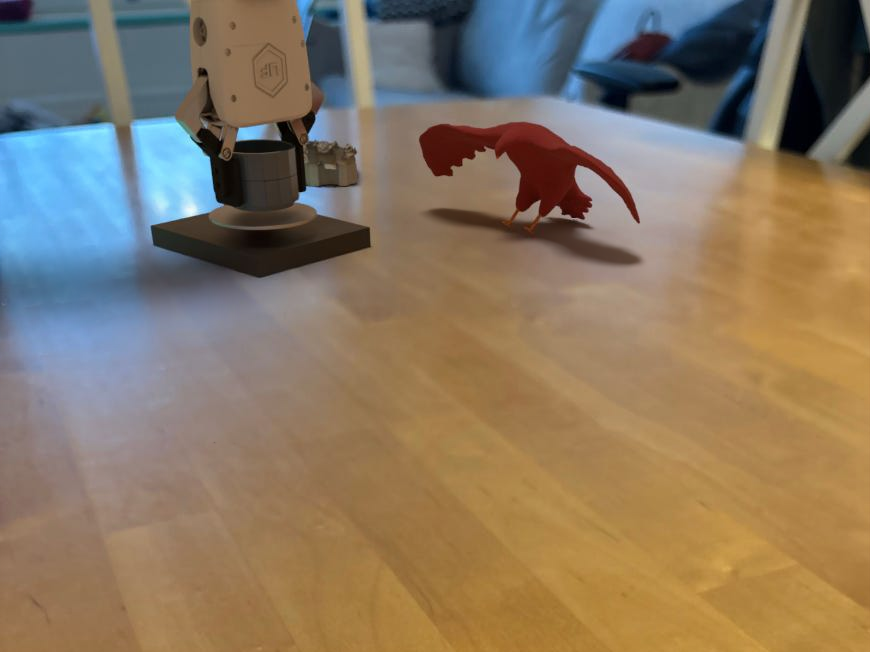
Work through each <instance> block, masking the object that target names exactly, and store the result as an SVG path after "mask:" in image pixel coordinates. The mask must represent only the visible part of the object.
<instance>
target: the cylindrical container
mask: <svg viewBox="0 0 870 652" xmlns="http://www.w3.org/2000/svg"><path fill="white" fill-rule="evenodd" d="M232 158H233V159H237V160H238V162H239V168H240V177H241V186H242V196H243V204H242V206H240V207H233V206H232V207H233V208H235V209H238V210H243V211H253V212H265V211H276V210H282V209H286V208H289V207H291V206H293V205H294V204H295V202H296V201H299V199H300V196H301V195H300V194H301V193H300V192H299V181H298V168H297V156H296V145H295V144H293V143H291V142H288V141H283V140H281V139H274V138H273V139H271V138H255V139H254V138H252V139H240V140H236V142H235V146H234V150H233V154H232Z"/></svg>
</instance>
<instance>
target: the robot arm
mask: <svg viewBox="0 0 870 652" xmlns="http://www.w3.org/2000/svg"><path fill="white" fill-rule="evenodd" d="M189 51H190V67H191V79H192V87H191V88H190V90H189V91H188V93H187V94H186V96H185V97H184V99H183V100H182V102H181V104H180V105H179V107H178V108H177V109H176V111H175V113H174V118H175V121H176V122H177V123H178V125H179V126H180V127H181V128H182V129H183V130H184V132H185V133H186V134H187V135H189V137H190V139H191V141H192V142H193V143H195V144H196V145H197V147H198V148H199V149H201V152H202V154H203V156H205V157H208V158H209V164H210V172H211V180H212V188H213V189H212V190H213V192H214V197H215V201H216V202H217V203H218V204H222V205H224V204H225V205H229V206H233V207H240V206H242V204H243V196H242V186H241V177H240V168H239V162H238V160H237V159H233V158H232V154H233V150H234V146H235V142H236V141H237V139H238V134H239V129H243V128H252V127H258V126H264V125H271V124H273V126H274V128H275V130H276V133H277V135H278V137H279V140H283V141H288V142H291V143H293V144H295V145H296V156H297V168H298V181H299V193H300V194H301V193H305V192H306V191H307V185H306V177H305V164H304V151H303V146H305V145H307V144H308V141H310V138H309V137H310V136H309V134H310V132H311V130H312V128H313V127H314V125H315V123H316V116H317V115H318V114H319V111H320V109H321V107H322V104H323V103H324V99H325V94H324V92H323V91H322V90H321V89H320V88H319V87H318V86H317V85H316V84H315V83H314V82H313V81H312V80H311V73H310V63H309V57H308V50H307V44H306V37H305V31H304V27H303V23H302V18H301V14H300V9H299V6H298V3H297V0H190V9H189ZM202 120H203V121H205V122H207V125H206V126H205V125H204V123H203V121H202Z"/></svg>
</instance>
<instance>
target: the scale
mask: <svg viewBox="0 0 870 652" xmlns="http://www.w3.org/2000/svg"><path fill="white" fill-rule="evenodd" d="M223 206H225V204H223ZM210 212H211V211H210ZM210 212H209V211H208V212H205V213H201V214H196V215H191V216H187V217H184V218H178V219H173V220H170V221H169V220H168V221H165V222H160V223H156V224H152V225H150V226H149V227H150V232H151V238H152V246H155V247H157V248H161V249H164V250H167V251H171V252H174V253H176V254H181V255H184V256H187V257H189V258H190V257H191V258H193V259H197V260H199V261H204V262H207V263H210V264H213V265H217V266H219V267H223V268H226V269H229V270H231V271H232V270H233V271H235V272H238V273H242V274H246V275H249V276H251V277H255V278H258V279H261V278H264V277H268V276H272V275H275V274H279V273H282V272H283V273H284V272H286V271H290V270H293V269H296V268H297V269H298V268H300V267H305V266H308V265H312V264H315V263H318V262H322V261H325V260H329V259H333V258H336V257H339V256H340V257H341V256H343V255H347V254H350V253H353V252H354V253H355V252H359V251H362V250H365V249H368V248H371V247H372V245H371V241H372V240H371V227H370V226H367V225H362V224H358V223H355V222H351V221H347V220H341V219H339V218H334V217H331V216H326V215H322V214H318V213H317V216H316V218H315V219H314V220H312V221H310V222H308V223H306V224H303V225H299V226H295V227H289V228H282V229H272V230H241V229H232V228H226V227H222V226H219V225H216V224H214V223H212V222H211V221H210V220H209V213H210Z"/></svg>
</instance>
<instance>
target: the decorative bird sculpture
mask: <svg viewBox="0 0 870 652" xmlns="http://www.w3.org/2000/svg"><path fill="white" fill-rule="evenodd" d="M418 141H419V147H420V150H421V153H422V158H423V159H424V161H425V164H426V166H427V168H428V169H429V170H430V171H431V173H432V175H433V176H434V177H437V178H438V177H444V176H445V177H454V170H453V169H452V167H455V168H456V167H457V168H461V167H463V165H464V164H463V163H464V162H463V161H464V159H468V160H470V161H473V160H474V159H475V158H476V156H477V155H476V152H478V153H485V152H486V151H487V149H490V150H493V151H494V154H495V159H496V160H499V159H500V158H501V157H502V156H503V154H506V156H507V157H508V159H509V160H510V161H511V162H512V163H513V165H514V166H515V167H516V169H517V170H518V172H519V175H520V178H519V185H518V192H517V195H516V197H515V211H514V212H513V213H512V215H511V217H510V219H509V220H508V222H507V221H505V220H501V221H499V223H500V222H501V223H503V224H504V225H505V226H507V227H508V228H509V229H510V230H512V227H511V225H512V223H513V221H514V220H515V218H516V217H517V215H518V214H519V212H520V213H524V212H526V211H527V210H529V209H530V208H531V207H532V206H533V205H534V204H536V203H538V202H539V201H540V202H539V205H538V214H537V216H536V217H535V219H534V221H533V222H532V224H531V225H530V227H528V226H522V228H524V229H525V230H526V231H528V232H529V233H531V234H530V235H531V237H533V236H534V234H533V230H534V229H535V227H536V225H537V224H538V222H539V220H540V219H541V218H545V217H547V216H549V214H550V213H551V212H552V211H553V210H554V209H555V208H556V207H558V208H559V209H560V211H561V213H560V214H561V216H569V217H570V218H571V219H572V218H577V219H579V220H582V221H584V220H586V216H585V215H584V214H587V213H589V212H590V210H589V209H592V208H593V203H592V202H593V198H592V197H591V196H589V195H588V194H585V193H584V192H583V191H582V189H581V188H580V187H579V185H578V183H577V181H576V169H577V167H578V166H580V167H583V168H586V169H589V170H590V171H592V172H593V173H595V174H596V175H597V176H598V177H600V178H601V179H602V180H603V181H604V182H605V183H606V184H607V185H608V186H609V187H610V188H611V189H612V191H614V192H615V193H616V194H617V195H618V197H620V198H621V200H622V201H623V203H624V204H625V207H626V208H627V210H628V211H629V212H630V215H631V217H632V219H633V220H634V221H635V222H636V223H637V224H638V225H640V224H641V221H640V216H639V212H638V209H637V206H636V202H635V201H634V197H633V195H632V192H631V191H630V189H629V188H628V187H627V186H626V183H625V182H624V181H623V179H621V178H620V176H618V174H616V172H615V170H613V169H612V167H611V166H608V165H607V164H606V163H605V162H603V161H602V160H601V159H599V158H597V157H595V156H593V155H592V154H590V153H588V152H587V151H585V150H584V149H582V148H580V147H578V146H575V145H571V144H570V143H568V142H567V141H566V140H565V139H563V138H562V137H561V136H560V135H558V134H556V133H554V131H552V130H550V129H549V128H548V127H546V126H544V125H542V124H539V123H534V122H528V121H509V122H507V123H502V124H498V125H496V126H491V127H485V128H483V127H474V126H470V125H464V124H463V125H452V124H450V123H439V124H435V125H432V126H430V127H428V128H427V129H426V130H425V131H423V133H422V134H420V135H419V138H418Z"/></svg>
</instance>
